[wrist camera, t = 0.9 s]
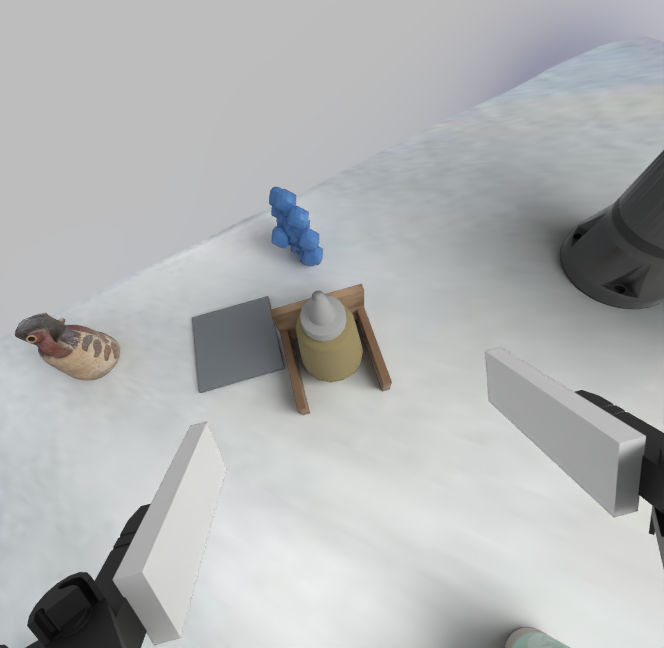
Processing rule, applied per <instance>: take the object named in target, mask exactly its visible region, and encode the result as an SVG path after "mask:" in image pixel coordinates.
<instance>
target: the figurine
mask: <svg viewBox="0 0 664 648" xmlns="http://www.w3.org/2000/svg"><path fill="white" fill-rule="evenodd" d="M64 322H65V319H64V318H61V319H59V320H56V319H54V318H52V317H50V316H49V315H48V314H47V313H42V314H38V315H34V316H32V317H29V318H26V319H24V320H23V321H21V322H20V323H19V325H18V327H17V329H16V331H15V336H16V337H18V338H20V339H22V340H24V341H26V342H28V343H31V344H35V345H37V347H38V352H39V354H40V356H41V358H42V359H43V360H44V361H45V362H47V363H48V364H50V365H51V366H53V367H55V368H56V369H58V370H60V371H62V372H64V373H66V374H68V375H69V376H71V377H73V378H77V379H81V380H95V379H98V378H101V377H103V376H104V375H106V374H107V373H108V372H109V371H110V370H111V369H112V368H113V367H114V366H115V364H116V363H117V361H118V359H119V353H120V347H119V344H118V343H117V341H116V340H114V339H113V338H112V337H110V336H108V335H106V334H104V333H102V332H97V331H94V330H92V329H89V328H87V327H83V326H78V325H64Z"/></svg>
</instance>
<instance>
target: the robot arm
mask: <svg viewBox="0 0 664 648" xmlns="http://www.w3.org/2000/svg"><path fill="white" fill-rule="evenodd" d="M560 256H561V263H562V266H563V269H564V271H565V272H566V274H567V276H568V277H569V279H570V280H571V281H572V282H573V283H574V284H575V285H576V286H577V287H578V288H579V289H580V290H581V291H583V292H584V293H586V294H587V295H589V296H590V297H592V298H594V299H596V300H598V301H600V302H602V303H605V304H608V305H611V306H615V307H620V308H627V309H641V308H648V307H652V306H654V305H657V304H659V303H661V302H663V301H664V150H663V151H662V152H661V153H660V155H659V156H658V157H657V158H656V159H655V160H654V161H653V162H652V163H651V164H650V165H649V166H648V167H647V169H646V170H645V171H644V172H643V173H642V174H641V175H640V176H639V177H638V178H637V179H636V180H635V181H634V182H633V184H632V185H631V186H630V187H629V188H628V189H627V190H626V191H625V192H624V193H623V194H622V196H621V197H620V198H619V199H618V200H617V201H616V202H615V203H614V204H612V205H610V206H608V207H607V208H605V209H603V210H602V211H600V212H598V213H597V214H595V215H593V216H591V217H590V218H588V219H586V220H585V221H583V222H582V223H580V224H579V225H578V226H577V227H575V229H574V230H573V231H572V232H571V233H570V234H569V235H568V237H567V238H566V239H565V241H564V242H563V244H562V247H561V253H560ZM485 359H486V372H487V386H488V400H489V402H490V403H491V404H492V405H493V406H494V407H495V408H497V409H498V410H499V411H500V412H501V413H502V414H503V415H504V416H505V417H506V418H507V419H508V420H509V421H510V422H512V423H513V424H514V425H515V426H516V427H517V428H518V429H519V430H520V431H521V432H522V433H523V434H524V435H526V436H527V437H528V438H529V439H530V440H531V441H532V442H533V443H534V444H535V445H536V446H537V447H538V448H539V449H541V450H542V451H543V452H544V453H545V454H546V455H547V456H548V457H549V458H550V459H551V460H552V461H553V462H555V463H556V464H557V465H558V466H559V467H560V468H561V469H562V470H563V471H564V472H565V473H566V474H567V475H568V476H570V477H571V478H572V479H573V480H574V481H575V482H576V483H577V484H578V485H579V486H580V487H581V488H582V489H584V490H585V491H586V492H587V493H588V494H589V495H590V496H591V497H592V498H593V499H594V500H595V501H596V502H597V503H599V504H600V505H601V506H602V507H603V508H604V509H605V510H606V511H607V512H608V513H609V514H610V515H611V516H613V517H618V516H621V515H625V514H629V513H632V512H636V511H638V504H639V495H640V496H641V497H642V498H644V499H645V500H646V501H648V502H649V503H650V504H651V505H653V506H652V513H651V521H650V529H649V534H653V535H654V533H655V532H656V537H657V541H658V545H659V550H660V554H661V559H662V563H663V567H664V433H663V432H661V431H659V430H658V429H656V428H654V427H652V426H651V425H649V424H647V423H645V422H644V421H642V420H640V419H638V418H637V417H635V416H633V415H632V414H630V413H628V412H625V410H623V409H621V408H619V407H618V406H616V405H615V406H614V405H613V404H612V403H611V402H609V401H607V400H606V399H604V398H602V397H600V396H598V395H595V394H592V393H589V392H586V391H583V390H580V391H576V392H573V391H572V390H570V389H568V388H567V387H565V386H563V385H562V384H560V383H559V382H557V381H555V380H554V379H552V378H550V377H549V376H547V375H545V374H544V373H542V372H541V371H539V370H537V369H536V368H534V367H532V366H531V365H529V364H528V363H526V362H524V361H523V360H521V359H519V358H518V357H516V356H515V355H513V354H511V353H510V352H508V351H506V350H505V349H503V348H502V347H498V348H494V349H490V350H486V351H485ZM226 470H227V469H226V467H225V464H224V462H223V459H222V457H221V454H220V452H219V450H218V447H217V445H216V442H215V440H214V437H213V435H212V432H211V430H210V427H209V425H208V423H207V422H203V423H199V424H195V425H191V426H190V427H189V429H188V431H187V433H186V435H185V437H184V439H183V441H182V443H181V445H180V447H179V449H178V451H177V453H176V455H175V457H174V459H173V461H172V463H171V465H170V467H169V469H168V471H167V473H166V475H165V477H164V479H163V481H162V483H161V485H160V487H159V489H158V491H157V493H156V495H155V497H154V499H153V501H152V503H151V504H148V505H144V506H141V507H140V508H139V509H138V510H137V511H136V512H135V513H134V514H133V516H132V517H131V518H130V519H129V520H128V522H127V523H126V525H125V527H124V529H123V531H122V532H121V534H120V538H118V540H117V541H116V543H115V545H114V547H113V548H114V549H113V550H112V551H111V552H110V554H109V556H108V558H107V560H106V561H105V563H104V565H103V567H102V569H101V570H100V572H99V574H98V576H97V578H96V579H95V581H94V580H93V579H92V577H91V576H90V575H89V574H88V573H87V572H79V573H76V574H73V575H71V576H68V577H67V578H65V579H64V580H62V581H60V582H59V583H57V584H56V585H55V586H54V587H53V588H51V589H50V590H49V591H48V592H47V593H46V594H45V595H44V596H43V597H42V598H41V599H40V601H39V602H38V603H37V604H36V605H35V607H34V609H33V610H32V612H31V614H30V616H29V619H28V624H27V626H28V627H29V629H30V630H31V631H32V632H33V633H34V635H35V636H36V637H37V638H38V641H36V642H34V643H33V644H31V645H29V646H27V647H26V648H141V646H142V643H143V640H144V637H145V634H146V633H147V635H148V636H149V638H150V639H151V641H152V643H153V644H154V645H157V644H161V643H164V642H168V641H171V640H175V639H179V638H181V636H182V632H183V628H184V625H185V621H186V617H187V614H188V610H189V606H190V602H191V599H192V595H193V591H194V588H195V584H196V580H197V577H198V573H199V569H200V566H201V562H202V558H203V554H204V551H205V547H206V543H207V540H208V536H209V532H210V529H211V525H212V521H213V518H214V514H215V510H216V506H217V503H218V499H219V495H220V492H221V488H222V484H223V481H224V477H225V473H226ZM0 648H8V647H7V646H6V645H0Z"/></svg>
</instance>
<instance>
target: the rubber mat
mask: <svg viewBox="0 0 664 648" xmlns="http://www.w3.org/2000/svg"><path fill="white" fill-rule="evenodd" d="M270 310H271V306H270V302H269V298H268V296H267V297H264V298H260V299H256V300H253V301H249V302H246V303H242V304H239V305H235V306H232V307H228V308H225V309H221V310H218V311H214V312H211V313H207V314H204V315H200V316H197V317H193V318H192V322H193V332H194V342H195V353H196V363H197V373H198V384H199V392H200V393H203V392H206V391H210V390H213V389H216V388H220V387H223V386H226V385H230V384H233V383H237V382H240V381H243V380H247V379H250V378H254V377H257V376H260V375H264V374H267V373H271V372H274V371H277V370H281V369H284V365H283V360H282V356H281V351H280V347H279V342H278V338H277V333H276V329H275V324H274V320H273V319H272V317H271V313H270Z"/></svg>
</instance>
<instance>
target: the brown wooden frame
mask: <svg viewBox="0 0 664 648" xmlns="http://www.w3.org/2000/svg"><path fill="white" fill-rule="evenodd" d="M324 295H327V296H332V297H334V298H336V299H338V300H339V301H340V302H341V303H342V304H343V305H345V306H347V307H348V309H349V310H350V311H351V313H352V314H353V316H354V319H355V321H358V323H359V326H360V329H361V332H362V335H363V338H364V340H365V343H366V346H367V349H368V352H369V355H370V357H371V360H372V363H373V366H374V369H375V372H376V374H377V377H378V380H379V383H380V386H381V389H382V391H385V390H388V389H390V386H391V383H392V382H391V379H390V376H389V373H388V371H387V368H386V365H385V363H384V360H383V357H382V355H381V352H380V349H379V346H378V344H377V341H376V338H375V336H374V333H373V330H372V328H371V325H370V322H369V319H368V317H367V314H366V311H365V309H364V289H363V286H362V284H359V285H356V286H352V287H349V288H345V289H342V290H338V291H335V292H331V293H328V294H324ZM310 299H311V298H310ZM310 299H307V300H303V301H300V302H296V303H293V304H289V305H286V306H282V307H279V308H275V309H272V310H270V313H271V317H272V319H273V320H274V322H275V324H276V326H277V328H278V329H279V331H280V335H281V339H282V343H283V348H284V352H285V356H286V361H287V365H288V370H289V374H290V378H291V383H292V387H293V391H294V396H295V400H296V405H297V409H298V411H299V412H300V413H301V414H302V415H305V414H309V413H310V411H309V407H308V403H307V399H306V395H305V391H304V387H303V383H302V379H301V374H300V370H299V366H298V362H297V358H296V354H295V350H294V346H293V342H292V339H295V338H297V332H296V323H297V320H298V317H299V315H300V313H301V310H302V307H303V306H304V305H305V304H306V302H307V301H308V300H310Z"/></svg>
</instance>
